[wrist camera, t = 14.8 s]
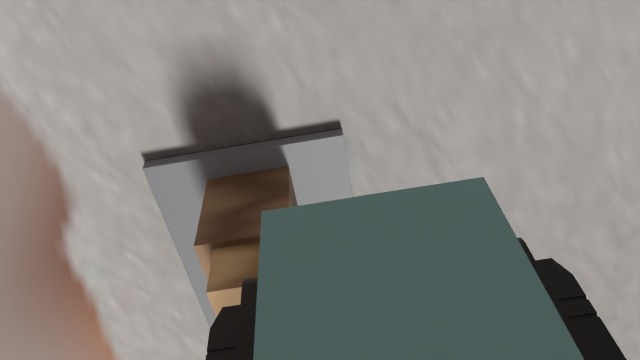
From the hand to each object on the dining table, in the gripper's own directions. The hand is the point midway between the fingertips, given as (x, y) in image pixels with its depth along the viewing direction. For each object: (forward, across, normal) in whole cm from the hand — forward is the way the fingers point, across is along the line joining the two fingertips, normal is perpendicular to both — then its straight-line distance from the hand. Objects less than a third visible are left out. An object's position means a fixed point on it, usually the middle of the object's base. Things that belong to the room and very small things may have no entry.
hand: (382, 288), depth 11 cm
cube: (0, 0, 0) cm, 0 cm away
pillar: (+18, +6, +11) cm, 22 cm away
